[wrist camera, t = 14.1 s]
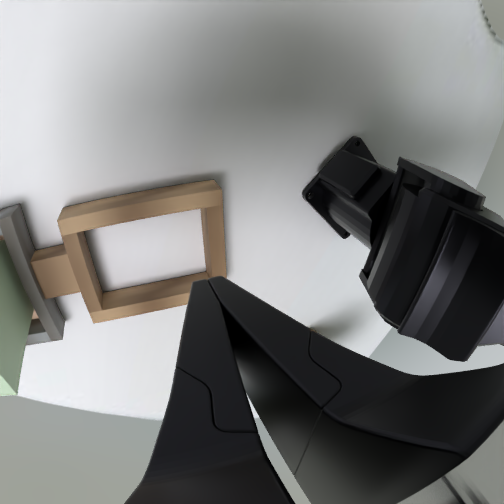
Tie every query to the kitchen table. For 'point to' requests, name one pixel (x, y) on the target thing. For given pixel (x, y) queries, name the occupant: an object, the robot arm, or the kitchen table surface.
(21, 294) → the sage peg
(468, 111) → the kitchen table surface
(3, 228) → the joined double square frame
